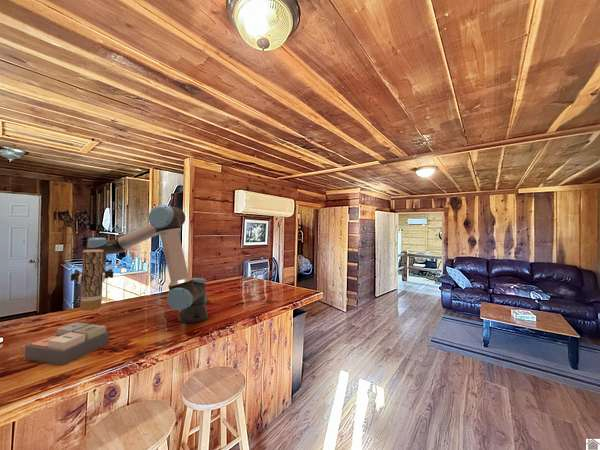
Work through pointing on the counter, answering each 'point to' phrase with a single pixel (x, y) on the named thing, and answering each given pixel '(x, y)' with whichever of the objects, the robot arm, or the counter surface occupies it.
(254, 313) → the counter surface
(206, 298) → the cupcake
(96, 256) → the brown bark-patterned cylinder
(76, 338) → the key cream
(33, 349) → the keypad
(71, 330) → the key slate
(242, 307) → the counter surface
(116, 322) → the counter surface
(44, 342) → the key terracotta
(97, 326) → the key sage
